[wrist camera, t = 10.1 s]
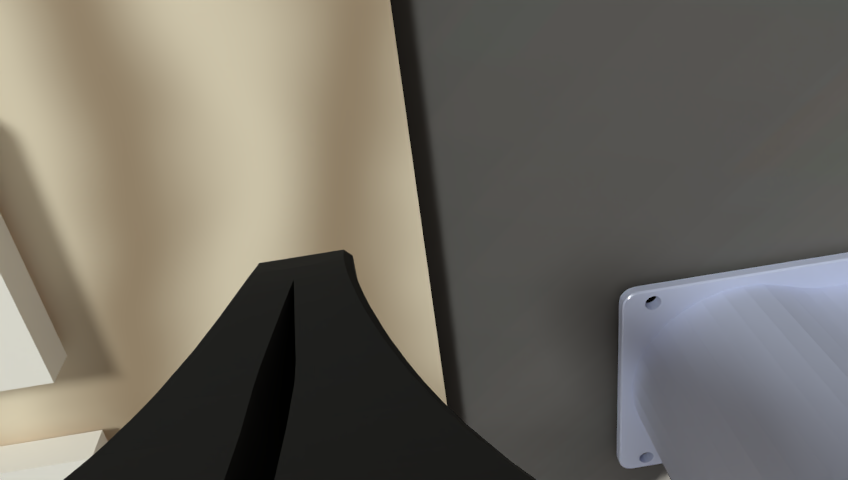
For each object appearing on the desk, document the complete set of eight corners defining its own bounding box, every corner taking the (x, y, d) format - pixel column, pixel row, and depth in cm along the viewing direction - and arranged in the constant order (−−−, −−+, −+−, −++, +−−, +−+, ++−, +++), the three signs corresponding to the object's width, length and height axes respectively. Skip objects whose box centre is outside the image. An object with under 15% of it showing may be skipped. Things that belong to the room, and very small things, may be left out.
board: (376, -89, 18) (377, -85, 17) (462, 520, 29) (465, 538, 28) (-347, 16, 17) (-374, 24, 17) (24, 595, 29) (16, 614, 28)
